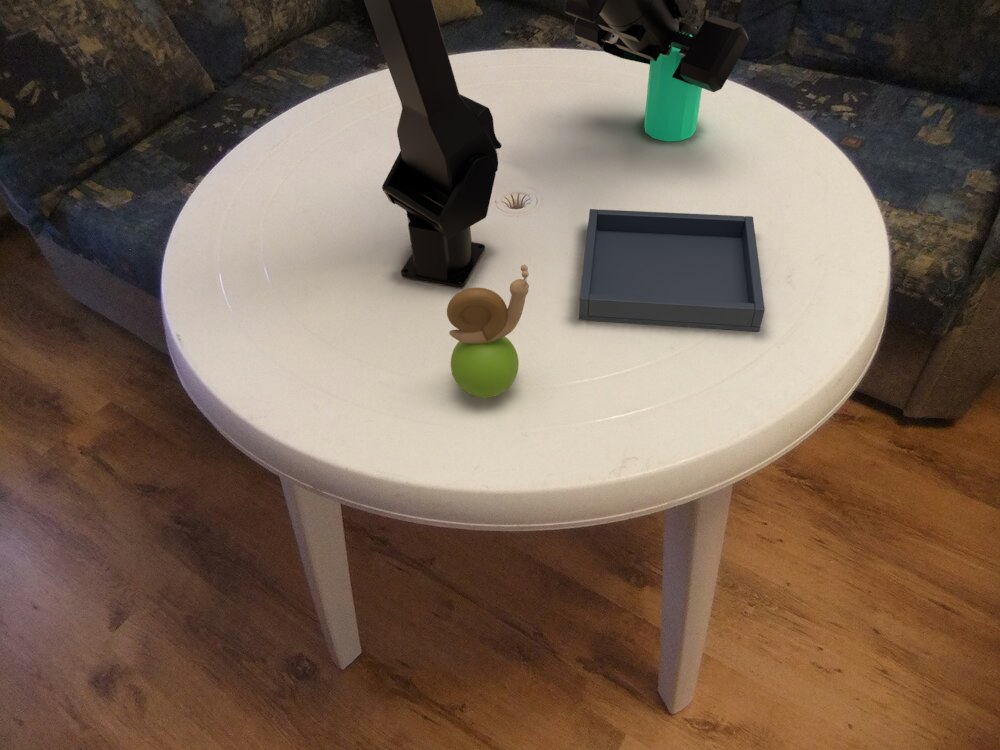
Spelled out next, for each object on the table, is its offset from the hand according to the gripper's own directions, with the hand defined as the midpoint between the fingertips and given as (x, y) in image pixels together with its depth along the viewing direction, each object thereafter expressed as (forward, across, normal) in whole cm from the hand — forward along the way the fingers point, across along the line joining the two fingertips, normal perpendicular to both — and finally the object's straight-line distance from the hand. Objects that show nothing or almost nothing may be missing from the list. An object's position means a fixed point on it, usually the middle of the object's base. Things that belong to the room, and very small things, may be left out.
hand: (684, 69), depth 89 cm
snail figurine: (-26, -15, +36) cm, 47 cm away
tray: (-12, -17, +21) cm, 29 cm away
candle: (+4, 0, +6) cm, 7 cm away
